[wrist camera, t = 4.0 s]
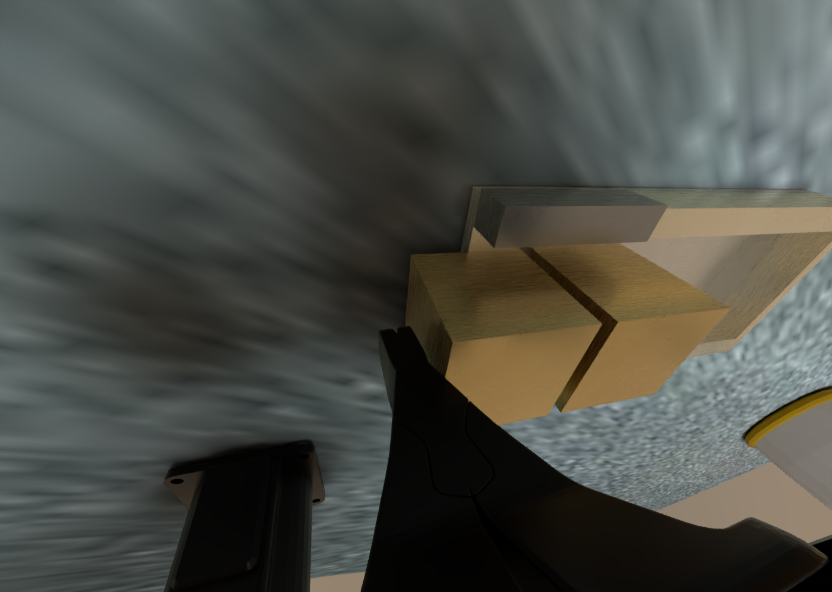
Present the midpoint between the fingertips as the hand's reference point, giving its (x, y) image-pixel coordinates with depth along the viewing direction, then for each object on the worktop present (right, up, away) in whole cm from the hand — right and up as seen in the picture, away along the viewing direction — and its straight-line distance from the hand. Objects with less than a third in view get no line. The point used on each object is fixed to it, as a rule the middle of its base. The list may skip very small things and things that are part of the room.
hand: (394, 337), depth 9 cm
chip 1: (+2, +1, +2) cm, 3 cm away
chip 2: (+7, +2, +3) cm, 8 cm away
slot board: (+10, +2, +4) cm, 11 cm away
